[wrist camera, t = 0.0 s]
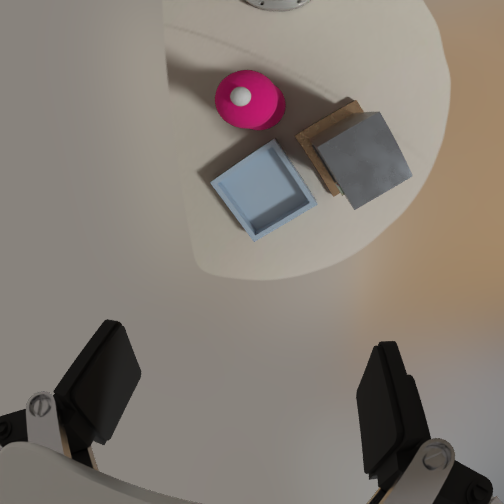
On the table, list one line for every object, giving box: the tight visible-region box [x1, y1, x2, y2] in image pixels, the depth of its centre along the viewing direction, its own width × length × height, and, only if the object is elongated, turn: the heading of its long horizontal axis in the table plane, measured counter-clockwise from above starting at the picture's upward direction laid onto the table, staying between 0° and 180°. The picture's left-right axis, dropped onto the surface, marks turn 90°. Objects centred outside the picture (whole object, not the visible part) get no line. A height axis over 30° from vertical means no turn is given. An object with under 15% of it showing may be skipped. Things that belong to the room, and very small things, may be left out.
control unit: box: [295, 100, 412, 210], centre depth 34 cm, size 11×11×14 cm
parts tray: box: [210, 138, 317, 242], centre depth 43 cm, size 12×12×3 cm
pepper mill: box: [215, 70, 286, 130], centre depth 30 cm, size 7×7×20 cm
